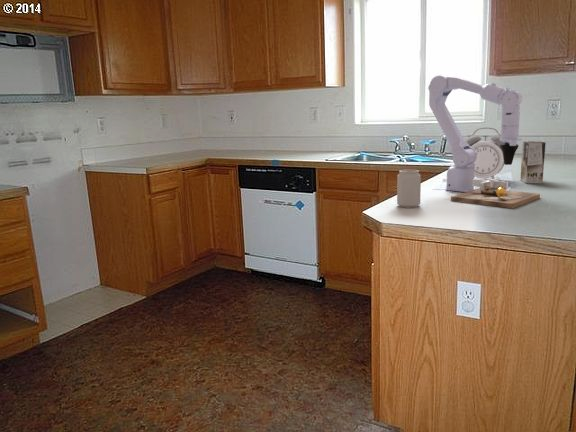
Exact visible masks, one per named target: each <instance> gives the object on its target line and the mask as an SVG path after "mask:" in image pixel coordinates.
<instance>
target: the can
mask: <svg viewBox="0 0 576 432" xmlns="http://www.w3.org/2000/svg"><path fill="white" fill-rule="evenodd" d="M419 172H420V170H417V169H400V170H399V173H398V174H397V176H396V177H397V179H396V180H397V181H396V182H397V183H396V185H397V189H396V194H397V195H396V205H398V206H399V207H400V208H403V209H404V208H405V209H413V208H418V207H419V206H420V205H421V191H422V190H421V186H422V185H421V180H422V179H421V177H422V174H420V173H419Z"/></svg>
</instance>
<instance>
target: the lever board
mask: <svg viewBox="0 0 576 432" xmlns="http://www.w3.org/2000/svg"><path fill="white" fill-rule="evenodd" d="M477 188H478V187H477ZM540 198H541V193H537V192H527V191H517V190H509V189H506V194H505V195H504V196H503V197H499V196H498V195H490V194H483V193H481V190H480V187H479V188H478V189H475V190H472V191H468V192H461V193H458V194H454V195H452V196H450V201H451V202H457V203H465V204H472V205H473V204H474V205H481V206H489V207H497V208H504V207H505V208H507V209H512V208H513V209H515V208H518V207H520V206H522V205H525V204H527V203H531V202H533V201H536V200H538V199H540Z"/></svg>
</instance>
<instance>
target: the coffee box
mask: <svg viewBox="0 0 576 432" xmlns="http://www.w3.org/2000/svg"><path fill="white" fill-rule="evenodd" d="M546 143H547V142H544V141H541V140H533V141H532V140H531V141H530V140H529V141H522V144H521V145H522V147H521V164H520V166H521V167H520V181H521V182H523V183H525V184H543V179H544V166H545V157H546Z"/></svg>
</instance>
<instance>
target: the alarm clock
mask: <svg viewBox="0 0 576 432" xmlns="http://www.w3.org/2000/svg"><path fill="white" fill-rule="evenodd" d="M485 129H489V130H494V131H495V132H496V133H497V134H494V135H492V136H491V137H490V138H489V141H488V140H487V138H488V137H489V135H483V136H482V137H483V138H484V140H482V137H481V136H480V135H475V133H477V131H480V130H485ZM467 137H468V138H466V139H465V141H466V142H467V143H468V144H469V146H470V147H471V148H472V149H473V150H475V152H476V154H477V158H476V160H475V162H474V165H475V169H474V178H476V179H484V178H485V179H489V178H491V180H492V179H495V177H494V176H496V175H497V174H499V173H500V172H501V171H502V170H503V169H504V167H505V164H504V158H503V153H502V150H501V147H500V145H504V144H505V143H503V142H502V141H500V139H501V133H499V131H498V130H497V129H496V128H493V127H480V128H476V130H474V132H473V133H472V134H471V135H469V134H468V135H467Z"/></svg>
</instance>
